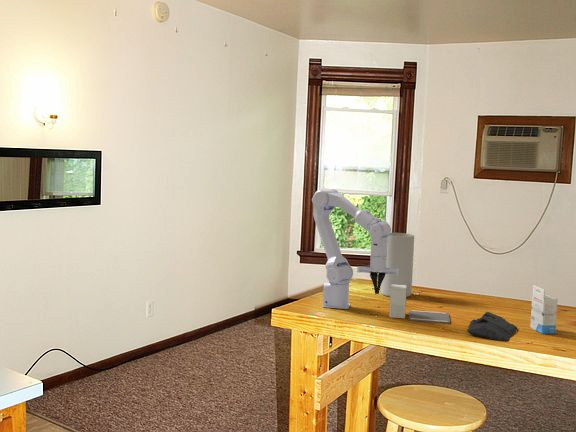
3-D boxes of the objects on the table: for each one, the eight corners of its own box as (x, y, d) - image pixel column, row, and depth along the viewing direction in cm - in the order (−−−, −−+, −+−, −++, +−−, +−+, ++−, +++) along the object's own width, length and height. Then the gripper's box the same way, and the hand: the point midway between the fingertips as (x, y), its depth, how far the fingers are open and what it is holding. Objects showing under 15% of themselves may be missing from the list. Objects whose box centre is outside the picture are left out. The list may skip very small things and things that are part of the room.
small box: (405, 319, 224) (406, 289, 223) (388, 317, 225) (390, 288, 224) (405, 313, 232) (407, 285, 231) (389, 312, 233) (391, 283, 232)
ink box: (556, 334, 210) (559, 289, 209) (541, 334, 210) (544, 289, 208) (543, 327, 219) (546, 284, 217) (529, 327, 218) (532, 284, 217)
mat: (408, 320, 222) (408, 318, 222) (409, 311, 236) (409, 309, 236) (450, 323, 219) (450, 322, 219) (448, 314, 233) (448, 312, 233)
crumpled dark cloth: (459, 336, 205) (460, 322, 205) (472, 322, 225) (473, 309, 224) (509, 344, 198) (510, 329, 198) (518, 328, 218) (519, 315, 217)
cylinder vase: (413, 298, 259) (416, 236, 257) (382, 297, 259) (385, 235, 257) (408, 292, 271) (411, 233, 269) (378, 291, 272) (381, 232, 269)
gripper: (399, 255, 231) (397, 292, 232) (359, 253, 234) (357, 289, 235) (399, 258, 224) (397, 296, 225) (357, 255, 227) (355, 293, 228)
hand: (376, 293), depth 230 cm, fingers closed
